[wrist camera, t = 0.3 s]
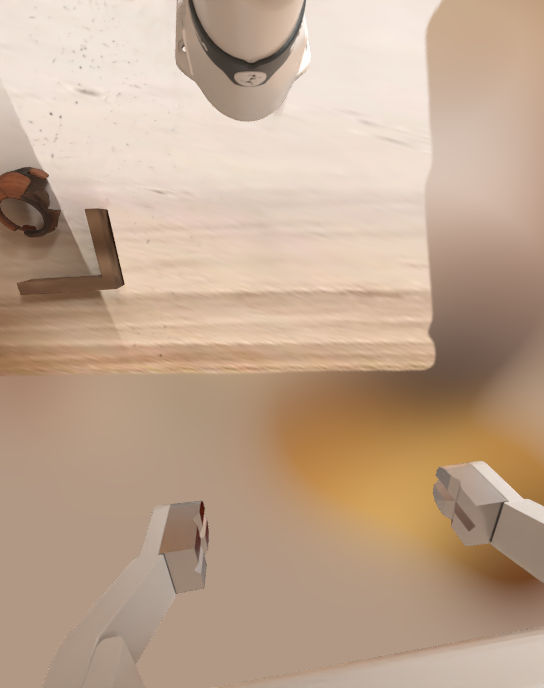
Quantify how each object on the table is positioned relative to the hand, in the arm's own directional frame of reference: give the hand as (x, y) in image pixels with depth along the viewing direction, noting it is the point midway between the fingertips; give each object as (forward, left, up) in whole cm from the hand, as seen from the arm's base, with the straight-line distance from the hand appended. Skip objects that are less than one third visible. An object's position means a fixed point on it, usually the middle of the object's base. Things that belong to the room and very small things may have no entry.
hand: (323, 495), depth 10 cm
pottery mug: (-16, -36, -53) cm, 66 cm away
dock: (0, -32, -52) cm, 61 cm away
